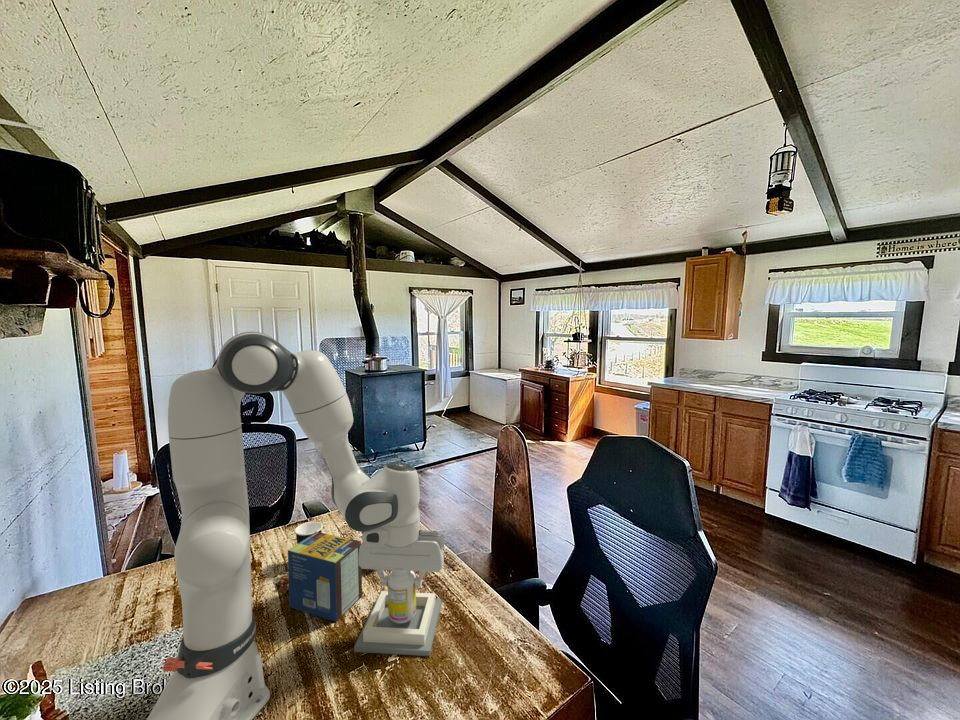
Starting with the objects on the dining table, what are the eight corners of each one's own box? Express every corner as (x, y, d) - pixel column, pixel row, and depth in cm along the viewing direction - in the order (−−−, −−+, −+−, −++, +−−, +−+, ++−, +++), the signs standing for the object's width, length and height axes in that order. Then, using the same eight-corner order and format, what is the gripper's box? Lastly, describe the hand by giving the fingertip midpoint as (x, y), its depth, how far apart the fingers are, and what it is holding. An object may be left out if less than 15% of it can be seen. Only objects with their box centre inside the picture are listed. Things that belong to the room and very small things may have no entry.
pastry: (284, 573, 117) (283, 562, 117) (315, 583, 113) (315, 571, 112) (263, 587, 110) (263, 575, 110) (296, 598, 106) (296, 586, 106)
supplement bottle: (406, 601, 101) (405, 553, 100) (421, 615, 96) (421, 564, 95) (383, 614, 96) (382, 564, 95) (397, 629, 92) (397, 576, 90)
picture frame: (429, 656, 87) (429, 640, 87) (354, 651, 88) (354, 636, 88) (441, 603, 104) (441, 590, 104) (378, 600, 105) (378, 587, 105)
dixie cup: (295, 572, 117) (294, 536, 116) (295, 558, 124) (294, 524, 123) (324, 566, 120) (323, 531, 119) (322, 552, 127) (321, 519, 127)
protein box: (317, 583, 112) (316, 530, 111) (362, 596, 107) (362, 540, 106) (287, 607, 102) (286, 549, 101) (336, 623, 97) (335, 562, 96)
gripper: (446, 525, 97) (446, 578, 98) (364, 522, 98) (365, 575, 99) (442, 538, 91) (442, 595, 92) (355, 535, 92) (356, 592, 93)
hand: (401, 585), depth 96 cm, fingers closed on supplement bottle, 7 cm apart
